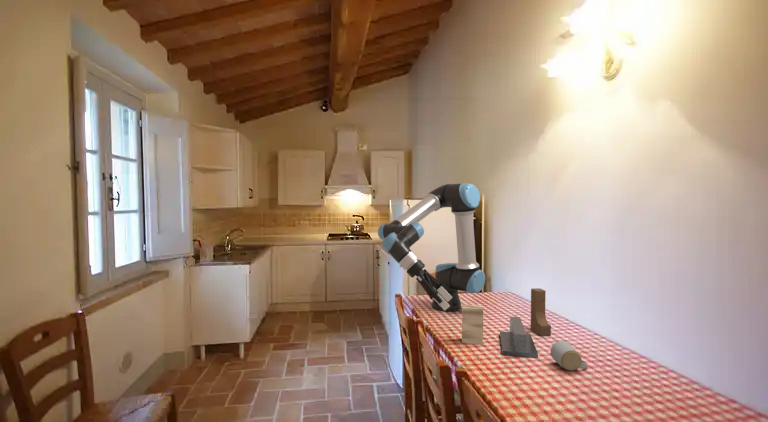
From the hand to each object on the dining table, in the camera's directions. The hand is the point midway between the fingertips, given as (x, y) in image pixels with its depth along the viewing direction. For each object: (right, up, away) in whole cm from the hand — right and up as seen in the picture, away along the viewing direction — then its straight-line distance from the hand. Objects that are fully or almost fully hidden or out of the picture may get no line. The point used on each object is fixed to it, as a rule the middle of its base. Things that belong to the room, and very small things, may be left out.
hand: (448, 303), depth 158 cm
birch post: (+9, -15, -1) cm, 17 cm away
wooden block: (+41, -15, +10) cm, 44 cm away
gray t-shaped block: (+26, -15, -5) cm, 30 cm away
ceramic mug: (+37, -16, -24) cm, 47 cm away
